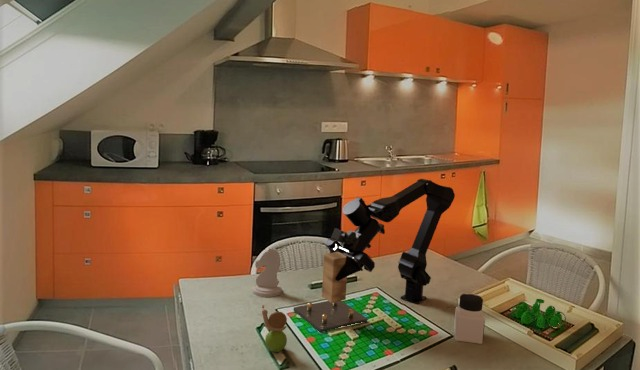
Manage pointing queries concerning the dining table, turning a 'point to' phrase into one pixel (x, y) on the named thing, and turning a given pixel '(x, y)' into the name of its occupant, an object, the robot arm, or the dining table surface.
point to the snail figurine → (275, 330)
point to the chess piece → (268, 275)
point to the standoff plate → (329, 315)
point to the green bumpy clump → (526, 317)
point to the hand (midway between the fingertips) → (331, 277)
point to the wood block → (333, 277)
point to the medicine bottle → (469, 319)
